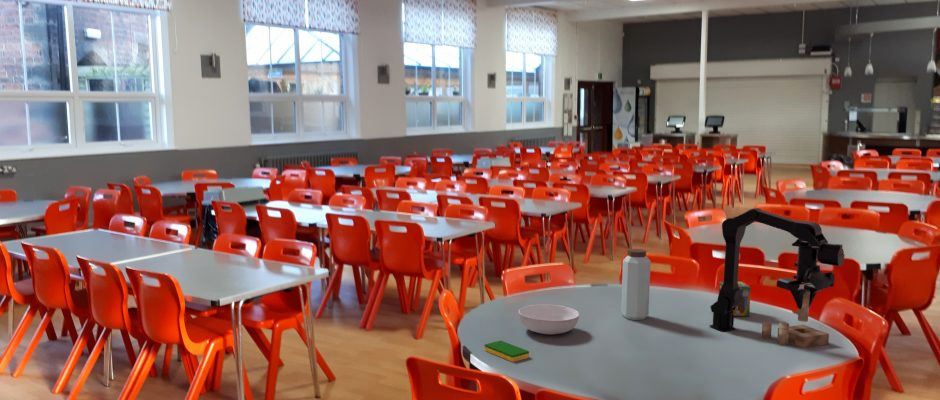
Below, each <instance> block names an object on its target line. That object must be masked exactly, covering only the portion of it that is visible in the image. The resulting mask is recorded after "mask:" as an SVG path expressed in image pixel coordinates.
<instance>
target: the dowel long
mask: <svg viewBox="0 0 940 400" xmlns="http://www.w3.org/2000/svg"><path fill="white" fill-rule="evenodd" d="M805 290H806V289H805ZM809 299H810V290H807V291H806V292H805V293H804V294H803V302H802V308H801V309H799V308H798V309H797V310H798V311H797V312H798V313H797V321H798V322H803V323H804V322H808V321H809V310H810V308H809Z"/></svg>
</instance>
